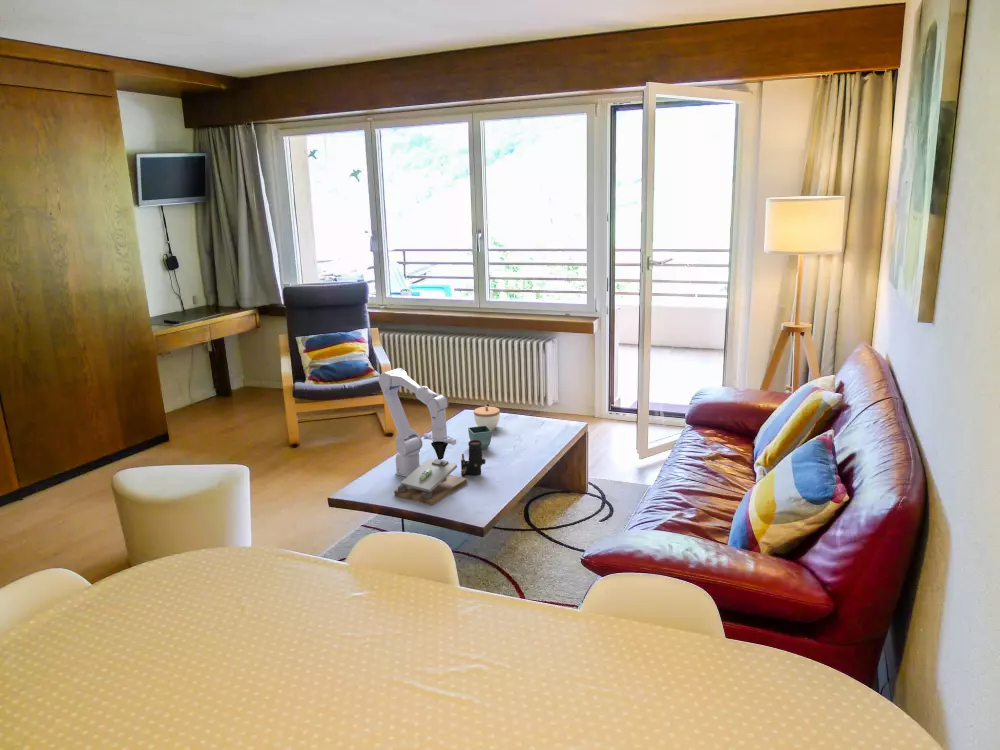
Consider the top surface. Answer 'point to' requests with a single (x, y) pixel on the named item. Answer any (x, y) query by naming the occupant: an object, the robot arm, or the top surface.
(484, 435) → the flower pot
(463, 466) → the scope
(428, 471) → the level plate
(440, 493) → the wooden pallet
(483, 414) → the lidded bowl
